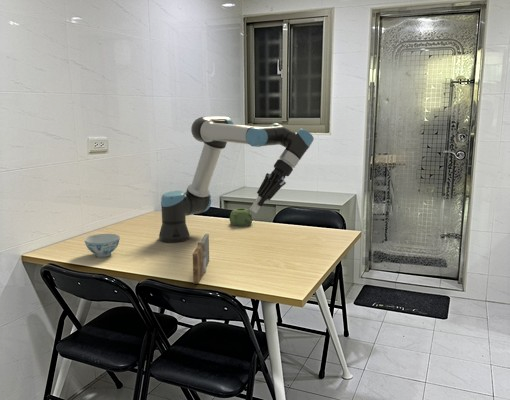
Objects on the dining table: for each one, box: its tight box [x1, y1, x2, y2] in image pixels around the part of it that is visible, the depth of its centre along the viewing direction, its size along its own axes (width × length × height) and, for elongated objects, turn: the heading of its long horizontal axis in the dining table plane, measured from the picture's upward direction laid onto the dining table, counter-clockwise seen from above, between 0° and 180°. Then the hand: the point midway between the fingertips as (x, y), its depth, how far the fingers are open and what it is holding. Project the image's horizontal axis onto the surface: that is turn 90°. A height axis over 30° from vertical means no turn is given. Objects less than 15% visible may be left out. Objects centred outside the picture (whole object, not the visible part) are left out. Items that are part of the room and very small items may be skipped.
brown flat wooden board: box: [192, 241, 206, 285], centre depth 180 cm, size 15×3×12 cm, turn 176°
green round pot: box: [229, 207, 253, 227], centre depth 263 cm, size 16×13×9 cm
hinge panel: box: [200, 233, 210, 274], centre depth 192 cm, size 15×3×12 cm, turn 177°
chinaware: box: [84, 233, 121, 258], centre depth 209 cm, size 15×15×8 cm
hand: (252, 211), depth 189 cm, fingers closed
